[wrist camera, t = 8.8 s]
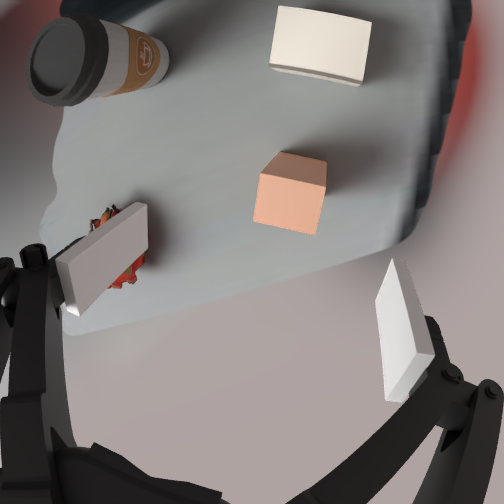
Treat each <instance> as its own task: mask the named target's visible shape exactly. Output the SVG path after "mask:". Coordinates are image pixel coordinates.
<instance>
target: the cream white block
mask: <svg viewBox="0 0 504 504" xmlns="http://www.w3.org/2000/svg"><path fill="white" fill-rule="evenodd" d="M371 24H372V22H368V21H364V20H360V19H356V18H352V17H347V16H342V15H337V14H332V13H327V12H321V11H315V10H309V9H302V8H295V7H287V6H279V7H278V13H277V19H276V26H275V32H274V38H273V44H272V51H271V57H270V63H269V67H271V68H273V69H275V70H276V71H280V72H286V73H292V74H298V75H304V76H310V77H315V78H320V79H325V80H330V81H334V82H339V83H343V84H347V85H352V86H356V87H357V86H360V85H363V76H364V70H365V64H366V58H367V52H368V45H369V38H370V32H371Z"/></svg>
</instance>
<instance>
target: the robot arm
mask: <svg viewBox="0 0 504 504" xmlns="http://www.w3.org/2000/svg"><path fill="white" fill-rule="evenodd" d="M147 249H148V228H147V204H144V203H139V202H135V203H133V204H132V205H130V206H129V207H127V208H126V209H124V210H123V211H121V212H120V213H118V214H117V215H115V216H114V217H112V218H111V219H109V220H108V221H107V222H105V223H104V224H102V225H101V226H99V227H98V228H97V229H95V230H94V231H92V232H91V233H90V234H88V235H87V236H83V237H81V238H78V239H76V240H75V241H73V242H72V243H71V244H69V245H68V246H66V247H65V248H64V250H63V249H62V250H61V251H60V252H58V253H57V254H56V255H54V256H53V257H52V258H51V259H49V260H48V255H47V251H46V246H45V245H43V244H39V243H37V244H31V245H28V246H26V247H24V248H23V249H22V250H21V251H20V253H19V254H20V258H21V262H22V266H23V268H17V267H15V264H14V261H13V259H12V258H9V257H2V258H0V382H1V379H2V376H3V373H4V369H5V366H6V363H7V360H8V357H9V355H10V367H9V387H8V389H9V391H8V396H7V397H2V399H1V401H0V441H1V459H2V468H0V504H230V503H228V502H227V501H225V500H223V499H221V497H222V492H219V491H216V490H212V489H208V488H206V487H202V486H199V485H196V484H192V483H190V482H184V481H175V480H168V479H161V478H154V477H150V476H149V475H147V474H146V473H144V472H143V471H141V470H140V469H139V468H137V467H136V466H135V465H133V464H132V463H131V462H129V461H128V460H127V459H126V458H124V457H123V456H121V455H119V454H117V453H115V452H113V451H111V450H109V449H107V448H105V447H103V446H101V445H99V444H97V443H95V442H94V443H93V445H92V446H91V448H86V447H77V444H76V442H75V440H74V437H73V433H72V428H71V421H70V415H69V408H68V400H67V392H66V383H65V372H64V360H63V342H62V311H61V308H60V305H61V304H62V303H63V302H64V301H65V303H66V307H67V311H68V312H71V313H73V314H75V315H77V316H81V315H82V314H83V313H84V312H85V311H86V310H87V309H88V308H89V306H90V305H91V304H92V303H93V302H94V301H95V300H96V299H97V298H98V297H99V296H100V295H101V294H102V293H103V292H104V291H105V290H106V289H107V288H108V287H109V286H110V285H111V284H112V283H113V282H114V281H115V280H116V279H117V278H118V277H119V276H120V275H121V274H122V273H123V272H124V271H125V270H126V269H127V268H128V267H129V266H130V265H131V264H132V263H133V262H134V261H135V260H136V259H137V258H138V257H139V256H140V255H141V254H142V253H143V252H145V251H146V250H147ZM1 302H2V305H1ZM375 304H376V310H377V319H378V327H379V335H380V344H381V354H382V364H383V376H384V389H385V400H388V401H395V402H403V400H404V399H405V398H406V397H407V395H408V394H409V398H408V400H407V401H406V402H405V403H404V404H403V405H402V406H401V407H400V408H399V409H398V411H396V412H395V413H394V415H393V416H392V417H391V418H390V419H389V420H388V421H387V422H386V423H385V424H384V425H383V426H382V427H381V428H380V429H379V430H377V432H375V433H374V434H373V435H372V436H371V437H370V438H369V439H368V440H367V441H366V442H365V443H364V444H363V445H362V446H360V447H359V448H358V449H357V450H356V451H355V452H354V453H353V454H351V455H350V456H349V457H348V458H347V459H346V460H345V461H343V462H342V463H341V464H340V465H339V466H337V467H336V468H335V469H334V470H332V471H331V472H330V473H329V474H328V475H326V476H325V477H324V478H322V479H321V480H320V481H319V482H317V483H316V484H315V485H313V486H312V487H310V488H309V489H307V490H305V491H303V492H302V493H300V494H299V495H297V496H296V497H294V498H293V499H292V500H290V501H289V502H287V503H286V504H367V503H368V502H369V501H370V499H372V498H373V497H374V496H375V494H377V493H378V491H380V490H381V489H382V488H383V486H384V485H385V484H386V483H387V482H388V481H389V480H390V479H391V478H392V477H393V476H394V475H395V474H396V473H397V471H398V470H399V469H400V468H401V467H402V466H403V465H404V463H405V462H406V461H407V460H408V459H409V458H410V456H411V455H412V454H413V453H414V452H415V450H416V449H417V448H418V447H419V445H420V444H421V443H422V442H423V440H424V439H425V438H426V436H427V435H428V434H429V432H430V431H431V430H432V429H433V427H434V426H435V425H437V426H440V427H442V428H444V429H443V432H442V435H441V437H440V440H439V443H438V446H437V448H436V451H435V454H434V456H433V459H432V461H431V464H430V466H429V469H428V471H427V473H426V476H425V478H424V480H423V482H422V485H421V487H420V489H419V491H418V493H417V495H416V497H415V500H414V501H413V503H412V504H483V502H484V498H485V495H486V491H487V488H488V484H489V480H490V477H491V472H492V468H493V464H494V459H495V454H496V450H497V444H498V439H499V433H500V427H501V419H502V412H503V403H504V393H503V391H502V388H501V387H500V386H499V385H498V384H497V383H496V382H494V381H493V380H490V379H485V380H483V381H481V383H480V384H479V385H478V386H476V385H473V384H471V383H469V382H466V381H464V378H463V374H462V372H461V371H460V369H459V368H458V367H457V366H455V365H454V364H452V363H450V360H449V357H448V353H447V350H446V346H445V343H444V342H443V337H442V335H441V331H440V328H439V325H438V324H437V322H436V321H435V320H434V319H433V317H430V316H425V315H424V314H423V311H422V308H421V304H420V301H419V298H418V295H417V292H416V289H415V286H414V283H413V281H412V277H411V275H410V272H409V269H408V266H407V264H406V261H403V260H399V259H395V258H392V260H391V262H390V265H389V268H388V270H387V273H386V276H385V278H384V281H383V283H382V286H381V288H380V291H379V293H378V296H377V298H376V300H375ZM10 352H11V354H10Z"/></svg>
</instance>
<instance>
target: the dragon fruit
mask: <svg viewBox="0 0 504 504" xmlns="http://www.w3.org/2000/svg"><path fill="white" fill-rule="evenodd" d="M112 208H113V209H114V210H112V209H111V210H109V208H108V207H107V209H106V211H105V212H104V213H103V215H102V218H101V220H100V219H94V220H92V219H91V220H90V227H91V230H90V231H89V234H90V233H91V232H92V231H94V230H93V225H92V224H94V227H95V229H97V228H98V227H99V226H101V225H102V224H104V223H105V222H107V221H108V220H109V219H111V218H112V217H114V216H115V215H117V214H118V213H120V212H121V211H123V210H122V209H116V206H115V205H114V204H113V205H112ZM145 259H146V251H145V252H143V253H142V254H141V255H140V256H139V257H138V258H137V259H136V260H135V261H134V262H133V263H132V264H131V265H130V266H129V267H128V268H127V269H126V270H125V271H124V272H123V273H122V274H121V275H120V276H119V277H118V278H117V279H116V280H115V281H114V282H113V283H112V284H111V285H110V286H109V287H108V288H107V289H110V288H111V287H113V288H118V289H121V288H122V283H123V282H128V283H129V284H134V283H135V282H136V281H137V277H136V275H135V271H136V270H137V269H138V268H139V267H140V266H141V265H142V264H143V263H144V262H145Z"/></svg>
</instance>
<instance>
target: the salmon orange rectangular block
mask: <svg viewBox="0 0 504 504" xmlns="http://www.w3.org/2000/svg"><path fill="white" fill-rule="evenodd" d="M326 177H327V162H326V161H321V160H317V159H313V158H308V157H303V156H299V155H294V154H289V153H284V152H279V153H278V154H277V155H276V156H275V157H274V158H273V160H272V161H271V162H270V163H269V164H268V165H267V166H266V167H265V168H264V170H263V171H262V172H261V173H260V179H259V185H258V192H257V198H256V205H255V212H254V218H253V221H254V222H259V223H263V224H268V225H272V226H277V227H281V228H285V229H290V230H294V231H298V232H303V233H307V234H311V235H315V233H316V228H317V224H318V220H319V216H320V212H321V208H322V203H323V199H324V195H325V190H326Z"/></svg>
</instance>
